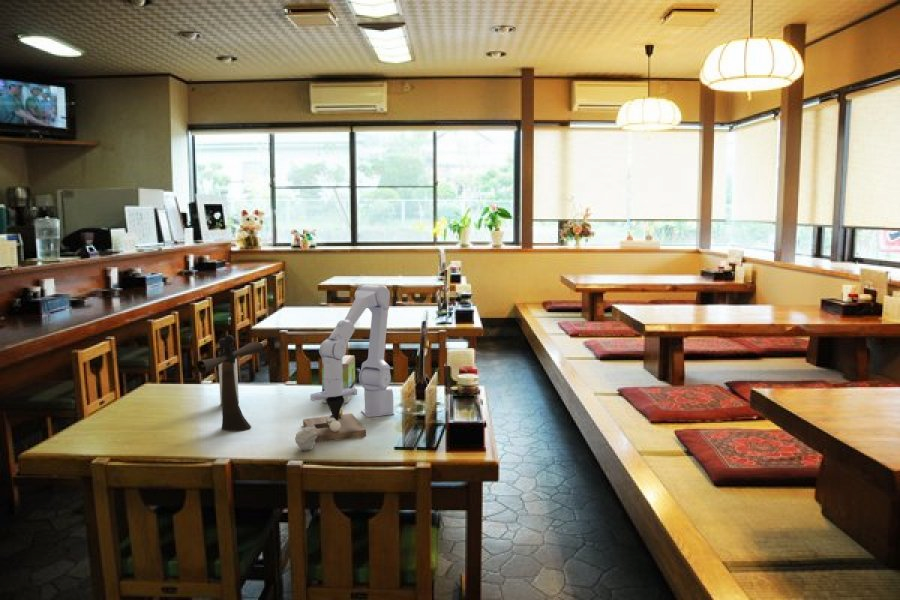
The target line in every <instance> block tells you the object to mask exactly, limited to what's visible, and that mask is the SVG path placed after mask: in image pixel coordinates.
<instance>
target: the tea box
mask: <svg viewBox="0 0 900 600" xmlns="http://www.w3.org/2000/svg"><path fill="white" fill-rule="evenodd" d="M342 368H343V389H348V388H356V357H355V355H351V354H349V355H347V354H345V355H344V357H343V358H342ZM322 391H325V385H324V363H323V362H322V363H321V392H322ZM353 396H354V395H350V396H343V398H344V403H343V404H349V402H350V401H351V399H352V397H353ZM321 401H322V402H321V403H322V404H325V403H326V404H328V403H327V402H326V400H325V399H322V400H321Z"/></svg>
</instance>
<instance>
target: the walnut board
mask: <svg viewBox="0 0 900 600" xmlns="http://www.w3.org/2000/svg"><path fill="white" fill-rule="evenodd" d="M328 416H329V415H327V416H317V417H310V418H303V419H302V425H303V428H305V427H310V428H311V427H314V429H315V431H316V432H317V434H318V436H317V438H316V439H315V443H314V444H316V443H317V444H318V443H325V442H331V441H340V440H345V439H352V438H353V439H354V438H360V437H361V438H362V437H366V436H367V429H366V428H365V427H364V426H363V425H362V423H361V422H360V421H359V419H357V417H356V416H355V415H354V414H353V413H351V412H350V413H342V415H341V416H340V417H338V421H339V422H340V424H341V428H340V430H339V431H337V432H333V431H332V430H331V429H330V425H328V424H327V422H326V418H327V417H328Z"/></svg>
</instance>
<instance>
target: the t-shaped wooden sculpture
mask: <svg viewBox="0 0 900 600" xmlns="http://www.w3.org/2000/svg"><path fill="white" fill-rule="evenodd" d="M234 342H235V338H234V336H233V335H231V334H227V335H226V336H225V337H222V338H220V339H219V340H218V345H219V347H220V351H221V352H220V355H221V357H218V356H217V357H214V358H213V357H211V358H207V359H201V360H198V361H197V363H196V366H197V367H196V368H197V370H198V372H199V373H200V374H201V375H205V374H207V373H208V372H210V371H211V370H213V369H215V368H216V367H217V366H218V367H219V364H221V363H222V406H221V415H222V416H221V417H222V421H221V422H222V423H221V429H222V430H224V431H230V432H240V431H247V430H250V429H251V428H252V426H251V424H250V423H249V422H248V420H247V419H246V418H245V416H244V415H243V412H242V409H241V407H240V405H239V404H240V403H239V404H238V399H237V393H236V387H235V377H234V364H233V363H235V357H244V356H249V355H257V354H260V353H261V352H263V350H264V345H263V343H261V342H260V341H259V342H258V341H252V342H249V343H247V344H245V345H243V346H242V347H240V348H238V349H236V351H235V352H233V351H232V348H233V346H234ZM222 352H223V353H224V355H223V356H222V354H223V353H222Z"/></svg>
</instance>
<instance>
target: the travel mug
mask: <svg viewBox="0 0 900 600" xmlns="http://www.w3.org/2000/svg"><path fill="white" fill-rule="evenodd" d="M232 351H233V352H235V351H237V348H235V347H232ZM220 352H221V350H220V351H218V352H217V357H221V355H220ZM222 353H223V352H222ZM223 355H224V353H223V354H222V356H223ZM237 357H238V356H237ZM237 357H235V363H233V364H234V377H235V387H236V393H237V399H238V404H240V399H239V398H240V397H239V379H238V378H239V377H238V359H237ZM218 381H219V397H220V398H219V399H220V406H221V407H222V363H221V364H219V365H218Z"/></svg>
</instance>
